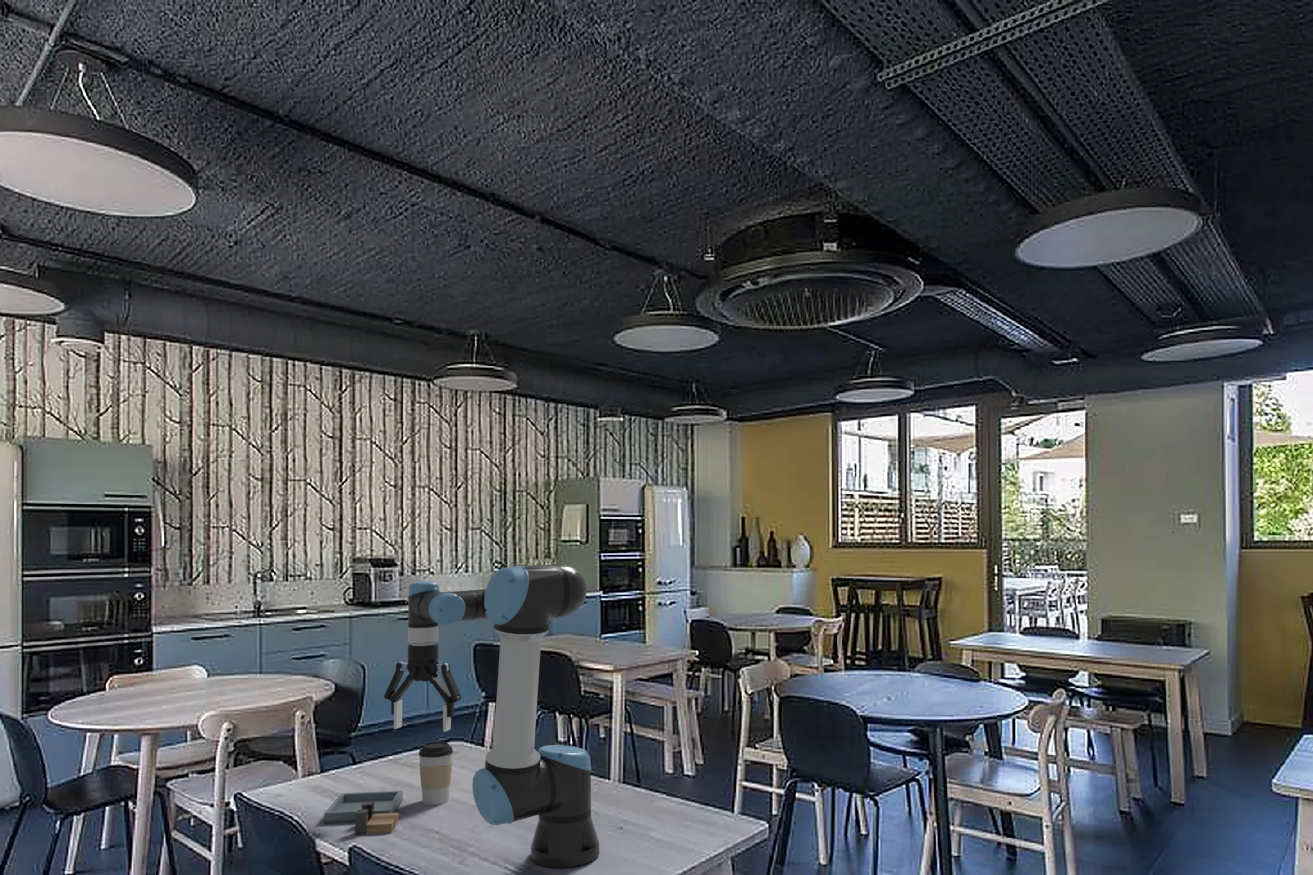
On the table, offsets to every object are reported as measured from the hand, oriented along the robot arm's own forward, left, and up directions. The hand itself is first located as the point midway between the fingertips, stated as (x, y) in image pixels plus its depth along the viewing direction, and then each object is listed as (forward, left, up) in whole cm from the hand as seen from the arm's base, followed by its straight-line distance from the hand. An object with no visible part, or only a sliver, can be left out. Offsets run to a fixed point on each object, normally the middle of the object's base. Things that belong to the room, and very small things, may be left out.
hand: (422, 729), depth 221 cm
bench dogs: (-4, +13, -22) cm, 26 cm away
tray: (+9, +16, -22) cm, 29 cm away
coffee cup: (+15, -1, -22) cm, 27 cm away
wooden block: (-4, +9, -23) cm, 25 cm away
